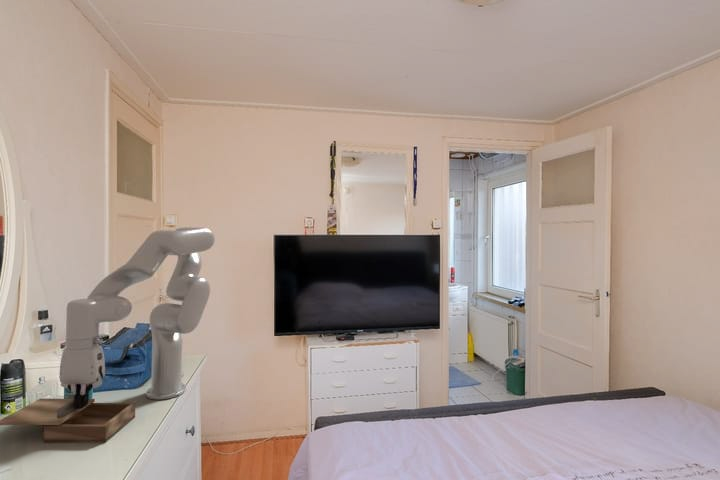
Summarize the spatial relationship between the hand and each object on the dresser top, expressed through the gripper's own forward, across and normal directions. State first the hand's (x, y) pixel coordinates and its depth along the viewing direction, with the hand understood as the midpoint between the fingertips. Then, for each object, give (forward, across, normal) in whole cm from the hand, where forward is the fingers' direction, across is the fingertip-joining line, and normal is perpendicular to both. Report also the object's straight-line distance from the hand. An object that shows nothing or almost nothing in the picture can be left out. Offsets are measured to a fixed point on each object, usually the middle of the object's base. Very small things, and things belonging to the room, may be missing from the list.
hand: (81, 406), depth 105 cm
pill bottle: (+7, +10, -13) cm, 18 cm away
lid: (+2, +9, 0) cm, 9 cm away
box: (+6, -3, 0) cm, 7 cm away
